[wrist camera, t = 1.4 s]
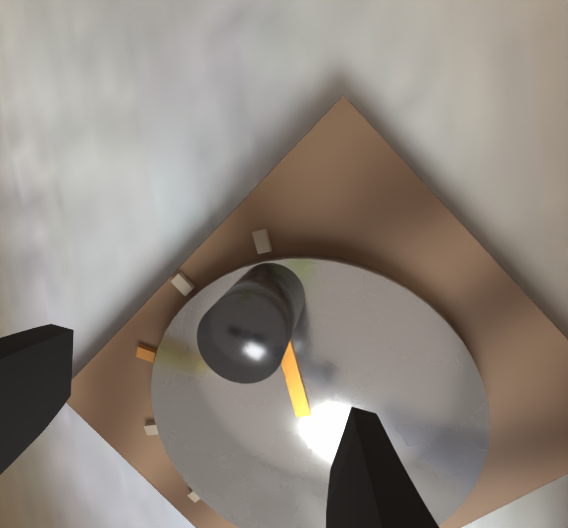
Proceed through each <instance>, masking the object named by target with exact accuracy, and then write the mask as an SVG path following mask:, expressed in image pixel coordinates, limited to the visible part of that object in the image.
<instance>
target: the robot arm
mask: <svg viewBox="0 0 568 528" xmlns="http://www.w3.org/2000/svg"><path fill="white" fill-rule="evenodd" d="M72 354H73V330H71V329H68V328H64V327H60V326H57V325H53V324H49V325H45V326H40V327H36V328H33V329H29V330H26V331H22V332H19V333H15V334H12V335H9V336H5V337H2V338H0V475H1V474H2V473H3V472H4V471H5V470H6V469H7V468H8V467H9V466H10V465H11V464H12V463H13V462H14V461H15V460H16V459H17V458H18V456H19V455H20V454H21V453H22V452H23V451H24V450H25V449H26V448H27V447H28V446H29V445H30V444H31V443H32V442H33V441H34V440H35V439H36V438H37V437H38V436H39V435H40V434H41V433H42V432H43V431H44V430H45V428H46V427H47V426H48V425H49V423H50V422H51V421H52V420H53V418H54V417H55V416H56V415H57V413H58V412H59V411H60V409H61V408H62V407H63V405H64V404H65V403H66V401H67V400H68V399H69V397H70V396H71V379H72ZM326 528H439V526H438V524H437V523H436V521H435V520H434V518H433V516H432V515H431V513H430V512H429V510H428V508H427V506H426V505H425V503H424V501H423V500H422V498H421V496H420V494H419V493H418V491H417V489H416V487H415V486H414V484H413V482H412V480H411V478H410V477H409V475H408V473H407V471H406V469H405V468H404V466H403V464H402V462H401V460H400V458H399V456H398V454H397V452H396V451H395V449H394V447H393V445H392V443H391V441H390V439H389V437H388V435H387V433H386V431H385V429H384V427H383V425H382V423H381V421H380V419H379V417H378V415H377V414H376V413H373V412H370V411H366V410H362V409H359V408H355V407H351V410H350V413H349V416H348V418H347V421H346V424H345V427H344V430H343V433H342V436H341V439H340V442H339V445H338V448H337V451H336V454H335V457H334V460H333V463H332V466H331V469H330V476H329V486H328V496H327V507H326Z"/></svg>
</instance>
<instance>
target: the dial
mask: <svg viewBox="0 0 568 528" xmlns="http://www.w3.org/2000/svg"><path fill="white" fill-rule="evenodd" d="M151 403H152V409H153V414H154V420H155V424H156V427H157V430H158V433H159V437H160V439H161V441H162V444H163V446H164V448H165V450H166V453H167V455H168V456H169V458H170V460H171V462H172V463H173V465H174V467H175V468H176V470H177V471H178V473H179V474H180V475H181V477H182V478H183V479H184V481H185V482H186V483H187V485H188V486H189V487H190V488H191V489H192V490H193V491H194V492H195V493H196V494H197V496H198V497H199V498H200V499H201V500H202V501H204V502H205V503H206V504H207V505H208V506H209V507H210V508H212V509H213V510H214V511H215V512H216V513H218V514H219V515H220V516H222V517H223V518H225V519H226V520H227V521H229V522H230V523H232V524H234V525H235V526H237V527H239V528H326V507H327V496H328V486H329V476H330V469H331V466H332V463H333V460H334V457H335V454H336V451H337V448H338V445H339V442H340V439H341V436H342V433H343V430H344V427H345V424H346V421H347V418H348V416H349V413H350V410H351V407H355V408H359V409H362V410H366V411H370V412H373V413H376V414H377V415H378V417H379V419H380V421H381V423H382V425H383V427H384V429H385V431H386V433H387V435H388V437H389V439H390V441H391V443H392V445H393V447H394V449H395V451H396V452H397V454H398V456H399V458H400V460H401V462H402V464H403V466H404V468H405V469H406V471H407V473H408V475H409V477H410V478H411V480H412V482H413V484H414V486H415V487H416V489H417V491H418V493H419V494H420V496H421V498H422V500H423V501H424V503H425V505H426V506H427V508H428V510H429V512H430V513H431V515H432V516H433V518H434V520H435V521H436V523H437V524H438V526H439V525H440V524H442V523H443V522H444V521H445V520H447V519H448V518H449V517H450V516H451V515H452V514H453V513H454V512H455V511H456V510H457V509H458V508H459V507H460V506H461V505H462V503H463V502H464V501H465V500H466V498H467V497H468V495H469V494H470V492H471V491H472V489H473V488H474V486H475V485H476V482H477V480H478V478H479V476H480V473H481V471H482V469H483V467H484V463H485V459H486V455H487V451H488V447H489V437H490V415H489V404H488V400H487V396H486V392H485V388H484V384H483V381H482V379H481V376H480V374H479V372H478V369H477V367H476V364H475V362H474V360H473V358H472V356H471V354H470V353H469V351H468V349H467V348H466V346H465V344H464V343H463V341H462V339H461V338H460V336H459V334H458V333H457V332H456V330H455V329H454V328H453V327H452V326H451V324H450V323H449V322H448V321H447V319H446V318H445V317H444V316H443V315H442V314H441V313H440V312H439V311H438V310H437V309H436V308H435V307H434V306H433V305H432V304H431V303H429V302H428V301H427V300H426V299H425V298H424V297H422V296H421V295H420V294H418V293H417V292H415V291H414V290H413V289H411V288H410V287H408V286H407V285H406V284H404V283H402V282H400V281H398V280H396V279H394V278H393V277H391V276H389V275H387V274H385V273H383V272H381V271H378V270H375V269H373V268H370V267H367V266H365V265H362V264H359V263H355V262H351V261H347V260H343V259H339V258H333V257H324V256H315V255H289V256H282V257H275V258H268V259H264V260H260V261H257V262H253V263H250V264H246V265H244V266H241V267H239V268H237V269H235V270H232V271H230V272H228V273H226V274H224V275H223V276H221V277H219V278H218V279H216V280H215V281H213V282H211V283H210V284H208V285H207V286H206V287H205V288H204V289H202V290H201V291H200V292H199V293H198V294H197V295H195V296H194V297H193V298H192V299H191V300H189V301H188V302H187V303H186V304H185V306H184V307H183V308H182V309H181V310H180V311H179V312H178V314H177V315H176V316H175V317H174V319H173V320H172V322H171V324H170V325H169V327H168V328H167V330H166V332H165V333H164V336H163V338H162V340H161V342H160V345H159V347H158V349H157V353H156V357H155V361H154V365H153V370H152V379H151Z"/></svg>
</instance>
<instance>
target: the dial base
mask: <svg viewBox="0 0 568 528" xmlns="http://www.w3.org/2000/svg"><path fill="white" fill-rule="evenodd" d="M289 255H315V256H324V257H333V258H339V259H343V260H347V261H351V262H355V263H359V264H362V265H365V266H367V267H370V268H373V269H375V270H378V271H381V272H383V273H385V274H387V275H389V276H391V277H393V278H394V279H396V280H398V281H400V282H402V283H404V284H406V285H407V286H408V287H410V288H411V289H413V290H414V291H415V292H417V293H418V294H420V295H421V296H422V297H424V298H425V299H426V300H427V301H428V302H429V303H431V304H432V305H433V306H434V307H435V308H436V309H437V310H438V311H439V312H440V313H441V314H442V315H443V316H444V317H445V318H446V319H447V321H448V322H449V323H450V324H451V326H452V327H453V328H454V329H455V330H456V332H457V333H458V334H459V336H460V338H461V339H462V341H463V343H464V344H465V346H466V348H467V349H468V351H469V353H470V354H471V356H472V358H473V360H474V362H475V364H476V367H477V369H478V372H479V374H480V376H481V379H482V381H483V384H484V388H485V392H486V396H487V400H488V404H489V415H490V437H489V447H488V451H487V455H486V459H485V463H484V467H483V469H482V471H481V473H480V476H479V478H478V480H477V482H476V485H475V486H474V488H473V489H472V491H471V492H470V494H469V495H468V497H467V498H466V500H465V501H464V502H463V503H462V505H461V506H460V507H459V508H458V509H457V510H456V511H455V512H454V513H453V514H452V515H451V516H450V517H449V518H448V519H447V520H445V521H444V522H443V523H442V524H440V525H439V528H461V527H463V526H465V525H467V524H469V523H471V522H473V521H475V520H477V519H479V518H481V517H483V516H485V515H487V514H489V513H491V512H493V511H495V510H496V509H498V508H500V507H502V506H504V505H506V504H508V503H510V502H512V501H514V500H516V499H518V498H520V497H522V496H524V495H526V494H528V493H530V492H532V491H534V490H536V489H538V488H540V487H542V486H544V485H546V484H548V483H550V482H552V481H554V480H556V479H557V478H559V477H561V476H563V475H565V474H567V473H568V340H567V338H566V337H565V336H564V335H563V334H562V333H561V332H560V331H559V330H558V329H557V328H556V326H555V325H554V324H553V323H552V322H551V321H550V320H549V319H548V318H547V317H546V316H545V314H544V313H543V312H542V311H541V310H540V309H539V308H538V307H537V306H536V305H535V304H534V302H533V301H532V300H531V299H530V298H529V297H528V296H527V295H526V294H525V293H524V292H523V290H522V289H521V288H520V287H519V286H518V285H517V284H516V283H515V282H514V281H513V280H512V278H511V277H510V276H509V275H508V274H507V273H506V272H505V271H504V270H503V269H502V268H501V266H500V265H499V264H498V263H497V262H496V261H495V260H494V259H493V258H492V257H491V256H490V254H489V253H488V252H487V251H486V250H485V249H484V248H483V247H482V246H481V245H480V244H479V242H478V241H477V240H476V239H475V238H474V237H473V236H472V235H471V234H470V233H469V232H468V230H467V229H466V228H465V227H464V226H463V225H462V224H461V223H460V222H459V221H458V220H457V218H456V217H455V216H454V215H453V214H452V213H451V212H450V211H449V210H448V209H447V208H446V206H445V205H444V204H443V203H442V202H441V201H440V200H439V199H438V198H437V197H436V196H435V194H434V193H433V192H432V191H431V190H430V189H429V188H428V187H427V186H426V185H425V184H424V183H423V181H422V180H421V179H420V178H419V177H418V176H417V175H416V174H415V173H414V172H413V171H412V169H411V168H410V167H409V166H408V165H407V164H406V163H405V162H404V161H403V160H402V159H401V157H400V156H399V155H398V154H397V153H396V152H395V151H394V150H393V149H392V148H391V147H390V145H389V144H388V143H387V142H386V141H385V140H384V139H383V138H382V137H381V136H380V135H379V133H378V132H377V131H376V130H375V129H374V128H373V127H372V126H371V125H370V124H369V123H368V121H367V120H366V119H365V118H364V117H363V116H362V115H361V114H360V113H359V112H358V111H357V109H356V108H355V107H354V106H353V105H352V104H351V103H350V102H349V101H348V100H347V99H346V97H345V96H344V95H343V96H342V97H341V98H340V100H339V101H338V102H337V103H336V104H335V105H334V106H333V107H332V108H331V109H330V110H329V111H328V112H327V113H326V114H325V115H324V116H323V117H322V118H321V119H320V120H319V122H318V123H317V124H316V125H315V126H314V127H313V128H312V129H311V130H310V131H309V132H308V133H307V134H306V135H305V136H304V137H303V138H302V139H301V140H300V141H299V143H298V144H297V145H296V146H295V147H294V148H293V149H292V150H291V151H290V152H289V153H288V154H287V155H286V156H285V157H284V158H283V159H282V160H281V161H280V162H279V163H278V165H277V166H276V167H275V168H274V169H273V170H272V171H271V172H270V173H269V174H268V175H267V176H266V177H265V178H264V179H263V180H262V181H261V182H260V183H259V184H258V185H257V187H256V188H255V189H254V190H253V191H252V192H251V193H250V194H249V195H248V196H247V197H246V198H245V199H244V200H243V201H242V202H241V203H240V204H239V205H238V206H237V207H236V209H235V210H234V211H233V212H232V213H231V214H230V215H229V216H228V217H227V218H226V219H225V220H224V221H223V222H222V223H221V224H220V225H219V226H218V227H217V228H216V229H215V231H214V232H213V233H212V234H211V235H210V236H209V237H208V238H207V239H206V240H205V241H204V242H203V243H202V244H201V245H200V246H199V247H198V248H197V249H196V250H195V252H194V253H193V254H192V255H191V256H190V257H189V258H188V259H187V260H186V261H185V262H184V263H183V264H182V265H181V266H180V267H179V268H178V269H177V270H176V271H175V272H174V274H173V275H172V276H171V277H170V278H169V279H168V280H167V281H166V282H165V283H164V284H163V285H162V286H161V287H160V288H159V289H158V290H157V291H156V292H155V293H154V294H153V296H152V297H151V298H150V299H149V300H148V301H147V302H146V303H145V304H144V305H143V306H142V307H141V308H140V309H139V310H138V311H137V312H136V313H135V314H134V315H133V316H132V318H131V319H130V320H129V321H128V322H127V323H126V324H125V325H124V326H123V327H122V328H121V329H120V330H119V331H118V332H117V333H116V334H115V335H114V336H113V337H112V339H111V340H110V341H109V342H108V343H107V344H106V345H105V346H104V347H103V348H102V349H101V350H100V351H99V352H98V353H97V354H96V355H95V356H94V357H93V358H92V359H91V361H90V362H89V363H88V364H87V365H86V366H85V367H84V368H83V369H82V370H81V371H80V372H79V373H78V374H77V375H76V376H75V377H74V378H73V379H72V380H71V396H70V397H69V399H68V400H67V401H66V403H67V404H68V405H69V406H70V407H71V408H72V409H73V410H74V411H75V412H76V413H77V414H79V415H80V416H81V417H82V418H83V419H84V420H85V421H86V422H87V423H88V424H89V425H90V426H91V427H92V428H93V429H94V430H95V431H96V432H97V433H98V434H99V435H100V436H101V437H102V438H103V439H104V440H105V441H107V442H108V443H109V444H110V445H111V446H112V447H113V448H114V449H115V450H116V451H117V452H118V453H119V454H120V455H121V456H122V457H123V458H124V459H125V460H126V461H127V462H128V463H129V464H130V465H131V466H132V467H133V468H134V469H136V470H137V471H138V472H139V473H140V474H141V475H142V476H143V477H144V478H145V479H146V480H147V481H148V482H149V483H150V484H151V485H152V486H153V487H154V488H155V489H156V490H157V491H158V492H159V493H160V494H161V495H162V496H164V497H165V498H166V499H167V500H168V501H169V502H170V503H171V504H172V505H173V506H174V507H175V508H176V509H177V510H178V511H179V512H180V513H181V514H182V515H183V516H184V517H185V518H186V519H187V520H188V521H189V522H190V523H192V524H193V525H194V526H195V527H196V528H239V527H237V526H235V525H234V524H232V523H230V522H229V521H227V520H226V519H225V518H223V517H222V516H220V515H219V514H218V513H216V512H215V511H214V510H213V509H212V508H210V507H209V506H208V505H207V504H206V503H205V502H204V501H202V500H201V499H200V498H199V497H198V496H197V494H196V493H195V492H194V491H193V490H192V489H191V488H190V487H189V486H188V485H187V483H186V482H185V481H184V479H183V478H182V477H181V475H180V474H179V473H178V471H177V470H176V468H175V467H174V465H173V463H172V462H171V460H170V458H169V456H168V455H167V453H166V450H165V448H164V446H163V444H162V441H161V439H160V437H159V433H158V430H157V427H156V424H155V420H154V414H153V409H152V403H151V379H152V370H153V365H154V361H155V357H156V353H157V349H158V347H159V345H160V342H161V340H162V338H163V336H164V333H165V332H166V330H167V328H168V327H169V325H170V324H171V322H172V320H173V319H174V317H175V316H176V315H177V314H178V312H179V311H180V310H181V309H182V308H183V307H184V306H185V304H186V303H187V302H188V301H189V300H191V299H192V298H193V297H194V296H195V295H197V294H198V293H199V292H200V291H201V290H202V289H204V288H205V287H206V286H207V285H208V284H210V283H211V282H213V281H215V280H216V279H218V278H219V277H221V276H223V275H224V274H226V273H228V272H230V271H232V270H235V269H237V268H239V267H241V266H244V265H246V264H250V263H253V262H257V261H260V260H264V259H268V258H275V257H282V256H289Z"/></svg>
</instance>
